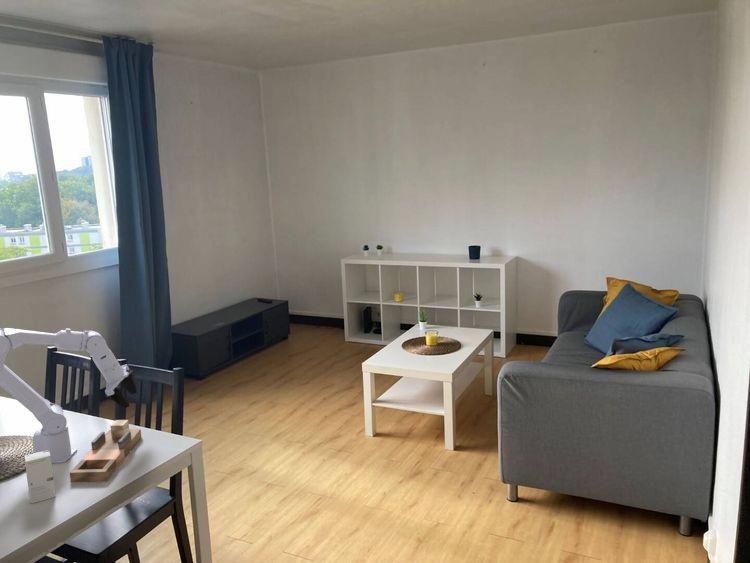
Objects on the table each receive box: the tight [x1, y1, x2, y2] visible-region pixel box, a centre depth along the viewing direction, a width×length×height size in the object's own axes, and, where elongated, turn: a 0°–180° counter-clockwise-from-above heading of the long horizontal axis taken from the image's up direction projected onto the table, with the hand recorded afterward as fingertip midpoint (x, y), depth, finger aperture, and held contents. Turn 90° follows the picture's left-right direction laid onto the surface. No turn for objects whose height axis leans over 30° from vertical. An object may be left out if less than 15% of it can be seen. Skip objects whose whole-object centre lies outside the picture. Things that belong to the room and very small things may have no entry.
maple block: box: [110, 419, 130, 438], centre depth 188 cm, size 4×4×4 cm
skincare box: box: [24, 450, 56, 504], centre depth 159 cm, size 6×4×12 cm
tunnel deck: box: [69, 428, 142, 483], centre depth 179 cm, size 10×26×6 cm, turn 1°
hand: (130, 399), depth 191 cm, fingers open, 7 cm apart
